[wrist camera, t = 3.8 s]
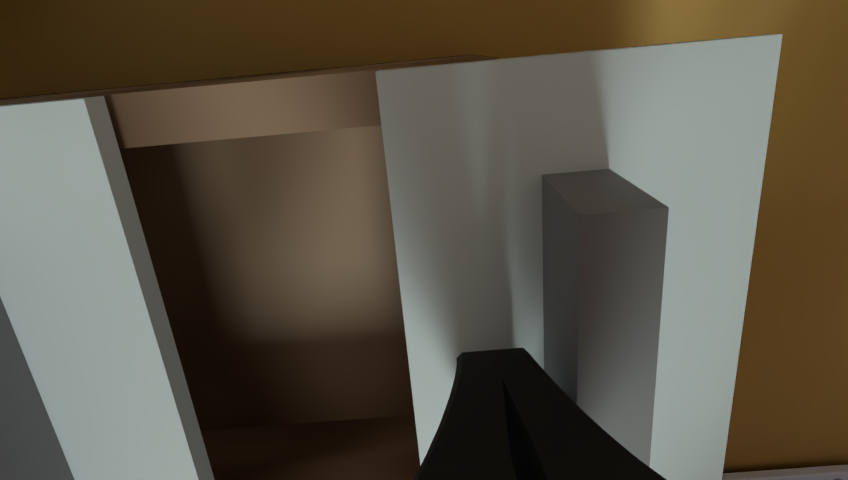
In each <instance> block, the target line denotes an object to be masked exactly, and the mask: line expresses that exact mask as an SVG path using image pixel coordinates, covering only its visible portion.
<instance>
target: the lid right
mask: <svg viewBox="0 0 848 480" xmlns="http://www.w3.org/2000/svg"><path fill="white" fill-rule="evenodd" d="M782 36H783V34H767V35H752V36H742V37H731V38H720V39H709V40H699V41H688V42H677V43H666V44H656V45H645V46H634V47H623V48H613V49H602V50H591V51H580V52H570V53H559V54H548V55H537V56H527V57H516V58H505V59H494V60H483V61H473V62H462V63H451V64H440V65H430V66H419V67H408V68H397V69H387V70H378V71H376V72H375V73H376V82H377V91H378V100H379V108H380V117H381V126H382V135H383V143H384V152H385V161H386V170H387V178H388V187H389V196H390V204H391V213H392V222H393V231H394V239H395V248H396V257H397V266H398V274H399V283H400V292H401V301H402V309H403V318H404V327H405V336H406V344H407V353H408V362H409V370H410V379H411V388H412V397H413V405H414V414H415V423H416V432H417V440H418V449H419V458H420V466H421V464H422V462H423V460H424V458H425V456H426V454H427V452H428V449H429V447H430V445H431V443H432V440H433V438H434V436H435V434H436V432H437V429H438V427H439V424H440V422H441V419H442V416H443V414H444V411H445V408H446V405H447V402H448V399H449V397H450V393H451V389H452V386H453V382H454V378H455V373H456V365H457V360H456V358H457V357H458V356H459V355H460V354H461V353H462V352H473V351H486V350H498V349H511V348H524V349H525V350H526V351H527V352H529V353H530V355H531V356H532V357H533V358H534V359H535V361H536V362H537V363H538V364H539V365H540V366H541V367H542V369H543V370H544V371H545V372H546V373H547V374H548V375H549V376H550V377H551V378H552V380H553V381H554V382H555V383H556V384H557V385H558V386H559V387H560V388H561V389H562V390H563V391H564V392H565V393H566V394H567V395H568V396H569V397H570V398H571V399H572V400H573V401H574V402H575V403H576V404H577V405H578V406H579V407H580V408H581V409H582V410H583V411H584V412H585V413H586V414H587V415H588V416H589V417H590V418H591V419H593V420H594V421H595V422H596V423H597V424H598V425H599V426H600V427H601V428H602V429H604V430H605V431H606V432H607V433H608V434H609V435H610V436H612V437H613V438H614V439H615V440H616V441H617V442H619V443H620V444H621V445H622V446H623V447H624V448H626V449H627V450H628V451H629V452H631V453H632V454H633V455H634V456H635V457H637V458H638V459H639V460H640V461H642V462H643V463H645V464H646V465H647V466H649V467H650V468H651V469H653V470H654V471H655V472H657V473H658V474H660V475H661V476H662V477H664V478H665V479H666V480H722V475H723V467H724V460H725V453H726V445H727V438H728V431H729V423H730V416H731V409H732V401H733V394H734V387H735V379H736V372H737V365H738V358H739V350H740V343H741V336H742V328H743V321H744V314H745V306H746V299H747V292H748V284H749V277H750V270H751V262H752V255H753V248H754V240H755V233H756V226H757V219H758V211H759V204H760V197H761V189H762V182H763V175H764V167H765V160H766V153H767V145H768V138H769V131H770V123H771V116H772V109H773V101H774V94H775V87H776V79H777V72H778V65H779V58H780V50H781V43H782Z"/></svg>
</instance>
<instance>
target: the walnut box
mask: <svg viewBox="0 0 848 480" xmlns="http://www.w3.org/2000/svg"><path fill="white" fill-rule="evenodd" d="M494 59H499V58H492V57H485V56H479V55H465V56H454V57H443V58H433V59H422V60H411V61H401V62H390V63H379V64H368V65H358V66H347V67H336V68H326V69H315V70H304V71H293V72H283V73H272V74H261V75H251V76H240V77H229V78H218V79H208V80H197V81H186V82H176V83H165V84H154V85H143V86H133V87H122V88H111V89H101V90H90V91H79V92H68V93H58V94H47V95H36V96H26V97H15V98H4V99H0V105H10V104H21V103H32V102H43V101H53V100H64V99H75V98H86V97H96V96H104V98H105V102H106V105H107V109H108V112H109V115H110V119H111V122H112V126H113V129H114V133H115V136H116V140H117V143H118V147H119V150H120V154H121V157H122V161H123V164H124V167H125V171H126V174H127V178H128V181H129V185H130V188H131V192H132V195H133V199H134V202H135V206H136V209H137V213H138V216H139V220H140V223H141V226H142V230H143V233H144V237H145V240H146V244H147V247H148V251H149V254H150V258H151V261H152V265H153V268H154V272H155V275H156V278H157V282H158V285H159V289H160V292H161V296H162V299H163V303H164V306H165V310H166V313H167V317H168V320H169V324H170V327H171V330H172V334H173V337H174V341H175V344H176V348H177V351H178V355H179V358H180V362H181V365H182V369H183V372H184V376H185V379H186V383H187V386H188V389H189V393H190V396H191V400H192V403H193V407H194V410H195V414H196V417H197V421H198V424H199V428H200V431H201V435H202V438H203V441H204V445H205V448H206V452H207V455H208V459H209V462H210V466H211V469H212V473H213V476H214V480H413V479H414V478H415V476H416V474H417V472H418V470H419V468H420V458H419V449H418V440H417V432H416V423H415V414H414V405H413V397H412V388H411V379H410V370H409V362H408V353H407V344H406V336H405V327H404V318H403V309H402V301H401V292H400V283H399V274H398V266H397V257H396V248H395V239H394V231H393V222H392V213H391V204H390V196H389V187H388V178H387V170H386V161H385V152H384V143H383V135H382V126H381V117H380V108H379V100H378V91H377V82H376V73H375V72H376V71H378V70H387V69H397V68H408V67H419V66H430V65H440V64H451V63H462V62H473V61H483V60H494Z"/></svg>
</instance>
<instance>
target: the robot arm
mask: <svg viewBox="0 0 848 480" xmlns="http://www.w3.org/2000/svg"><path fill="white" fill-rule="evenodd" d="M456 360H457V365H456V373H455V378H454V382H453V386H452V389H451V393H450V397H449V399H448V402H447V405H446V408H445V411H444V414H443V416H442V419H441V422H440V424H439V427H438V429H437V432H436V434H435V436H434V438H433V440H432V443H431V445H430V447H429V449H428V452H427V454H426V456H425V458H424V460H423V462H422V464H421V466H420V468H419V470H418V472H417V474H416V476H415V478H414V479H413V480H666V479H665V478H664V477H662V476H661V475H660V474H658V473H657V472H655V471H654V470H653V469H651V468H650V467H649V466H647V465H646V464H645V463H643V462H642V461H640V460H639V459H638V458H637V457H635V456H634V455H633V454H632V453H631V452H629V451H628V450H627V449H626V448H624V447H623V446H622V445H621V444H620V443H619V442H617V441H616V440H615V439H614V438H613V437H612V436H610V435H609V434H608V433H607V432H606V431H605V430H604V429H602V428H601V427H600V426H599V425H598V424H597V423H596V422H595V421H594V420H593V419H591V418H590V417H589V416H588V415H587V414H586V413H585V412H584V411H583V410H582V409H581V408H580V407H579V406H578V405H577V404H576V403H575V402H574V401H573V400H572V399H571V398H570V397H569V396H568V395H567V394H566V393H565V392H564V391H563V390H562V389H561V388H560V387H559V386H558V385H557V384H556V383H555V382H554V381H553V380H552V378H551V377H550V376H549V375H548V374H547V373H546V372H545V371H544V370H543V369H542V367H541V366H540V365H539V364H538V363H537V362H536V361H535V359H534V358H533V357H532V356H531V355H530V353H529V352H527V351H526V350H525V349H524V348H511V349H498V350H486V351H473V352H462V353H461V354H460V355H459V356H458V357H457V358H456ZM722 480H848V465H834V466H820V467H806V468H792V469H778V470H764V471H750V472H736V473H723V475H722Z"/></svg>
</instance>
